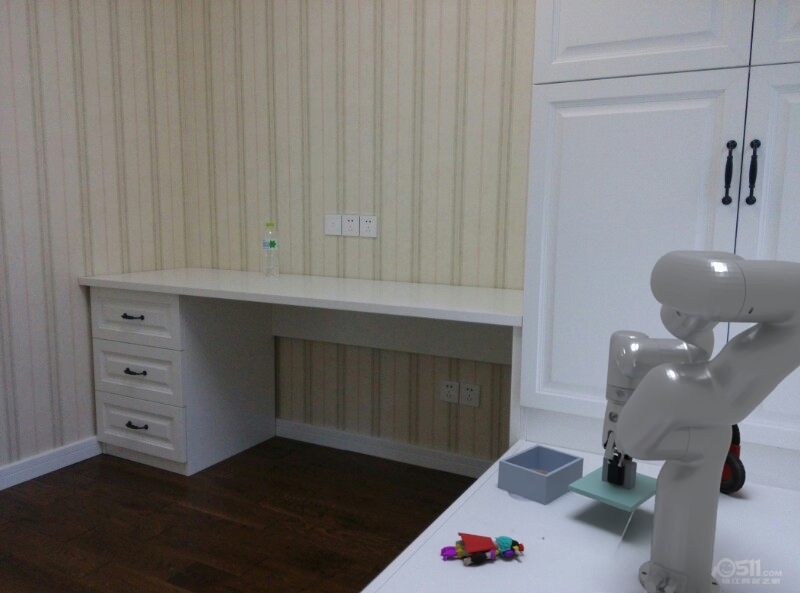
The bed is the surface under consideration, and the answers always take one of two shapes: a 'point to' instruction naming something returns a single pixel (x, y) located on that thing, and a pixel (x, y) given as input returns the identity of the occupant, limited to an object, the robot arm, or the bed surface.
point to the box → (535, 484)
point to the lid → (616, 487)
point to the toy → (481, 548)
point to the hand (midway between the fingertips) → (618, 480)
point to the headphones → (733, 466)
